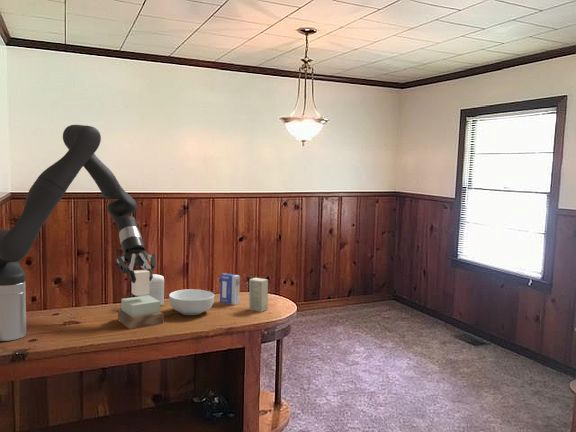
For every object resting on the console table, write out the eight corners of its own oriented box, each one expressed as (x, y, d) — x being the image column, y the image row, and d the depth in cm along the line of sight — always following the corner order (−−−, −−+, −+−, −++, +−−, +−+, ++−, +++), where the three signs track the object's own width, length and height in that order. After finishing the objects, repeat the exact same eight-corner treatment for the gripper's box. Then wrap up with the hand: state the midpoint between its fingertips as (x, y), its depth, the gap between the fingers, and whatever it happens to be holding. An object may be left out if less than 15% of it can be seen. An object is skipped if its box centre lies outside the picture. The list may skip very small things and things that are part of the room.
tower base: (128, 330, 164) (128, 318, 164) (117, 320, 174) (118, 309, 173) (163, 324, 171) (163, 313, 171) (150, 315, 181) (151, 305, 180)
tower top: (132, 317, 165) (132, 305, 165) (121, 310, 173) (121, 298, 173) (159, 312, 172) (160, 301, 171) (148, 305, 179) (148, 295, 179)
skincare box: (267, 309, 192) (268, 279, 191) (261, 312, 188) (262, 281, 187) (254, 307, 195) (255, 277, 194) (248, 309, 192) (249, 278, 190)
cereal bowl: (198, 321, 174) (198, 302, 174) (159, 315, 180) (159, 296, 180) (222, 309, 190) (222, 292, 189) (185, 304, 196) (185, 286, 195)
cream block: (135, 295, 169) (135, 272, 168) (131, 293, 172) (131, 270, 171) (149, 293, 172) (149, 271, 171) (145, 291, 175) (145, 269, 174)
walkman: (219, 302, 201) (220, 273, 200) (223, 300, 203) (224, 272, 202) (235, 305, 197) (236, 275, 196) (239, 303, 199) (240, 274, 198)
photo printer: (161, 302, 197) (162, 272, 196) (165, 305, 193) (165, 274, 192) (136, 305, 191) (136, 274, 190) (139, 308, 188) (139, 276, 186)
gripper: (113, 236, 172) (124, 276, 163) (153, 234, 180) (165, 272, 172) (109, 249, 177) (119, 289, 168) (148, 246, 185) (159, 284, 176)
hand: (142, 280), depth 170 cm, fingers closed on cream block, 5 cm apart
